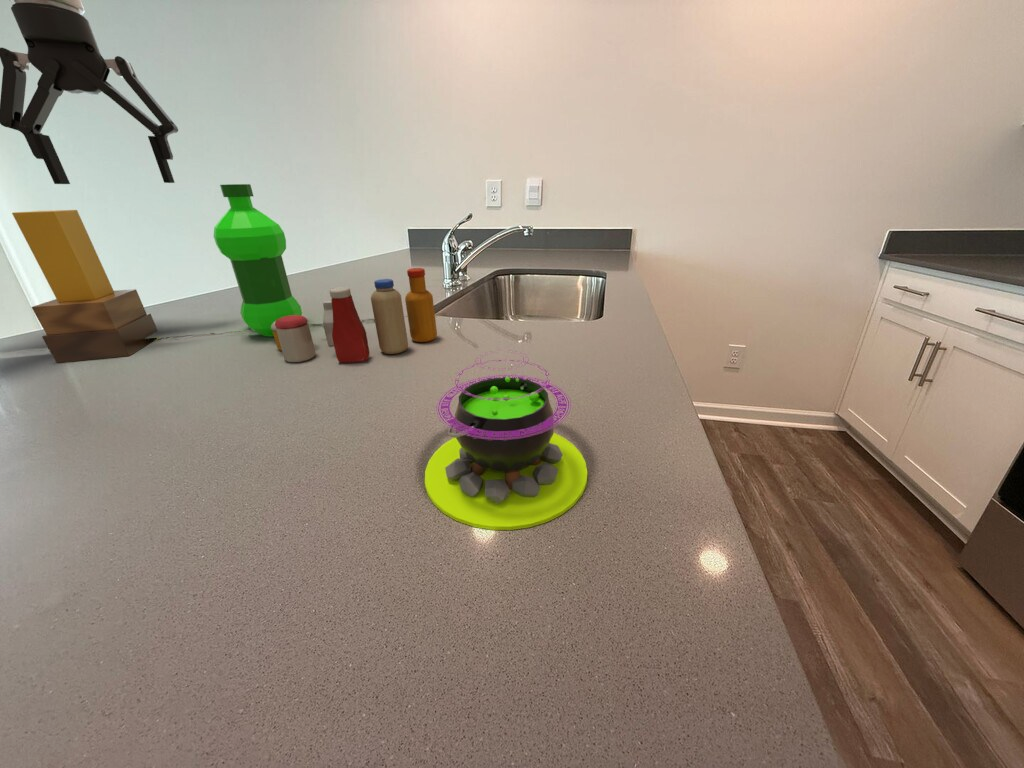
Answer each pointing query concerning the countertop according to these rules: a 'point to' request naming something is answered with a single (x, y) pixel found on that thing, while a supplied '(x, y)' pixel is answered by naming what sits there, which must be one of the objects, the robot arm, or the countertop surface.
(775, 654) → the countertop surface
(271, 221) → the plastic bottle
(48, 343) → the stacked wooden blocks
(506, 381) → the toy cauldron
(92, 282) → the bar
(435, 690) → the countertop surface
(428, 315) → the toy food
